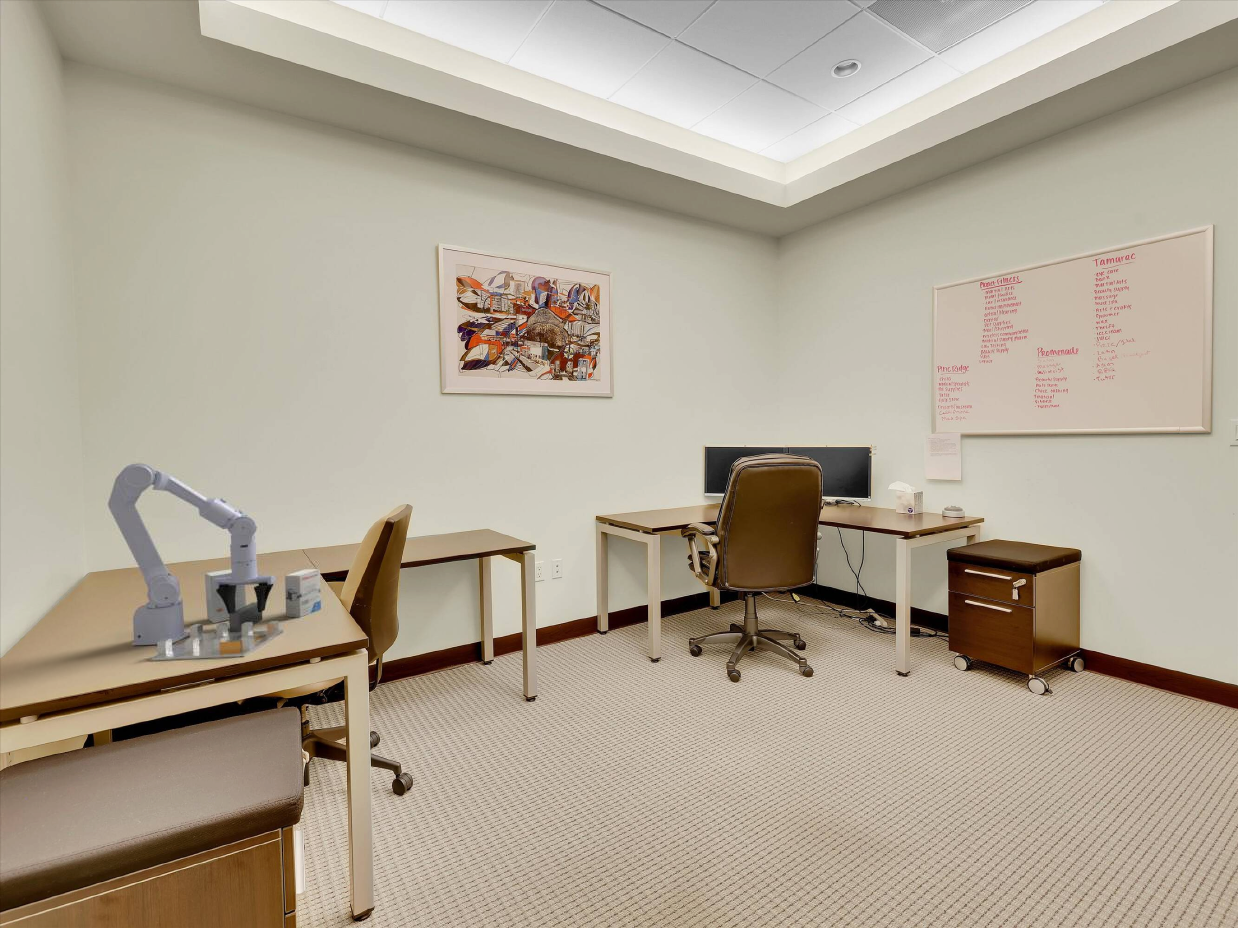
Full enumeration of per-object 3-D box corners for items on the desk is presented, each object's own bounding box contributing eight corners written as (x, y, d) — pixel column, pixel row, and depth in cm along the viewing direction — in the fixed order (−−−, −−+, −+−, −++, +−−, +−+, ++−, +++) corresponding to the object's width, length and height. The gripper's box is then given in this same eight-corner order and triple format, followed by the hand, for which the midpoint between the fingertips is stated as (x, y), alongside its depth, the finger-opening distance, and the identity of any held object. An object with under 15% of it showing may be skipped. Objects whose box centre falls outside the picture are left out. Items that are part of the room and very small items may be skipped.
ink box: (307, 608, 172) (305, 568, 171) (322, 609, 171) (321, 568, 170) (285, 617, 163) (283, 575, 163) (301, 617, 162) (299, 575, 162)
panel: (230, 633, 150) (229, 613, 150) (253, 620, 161) (252, 602, 161) (240, 632, 150) (239, 613, 150) (262, 620, 161) (261, 602, 161)
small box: (240, 612, 169) (238, 567, 168) (247, 616, 165) (245, 570, 164) (206, 619, 163) (204, 572, 162) (213, 623, 159) (210, 575, 158)
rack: (151, 660, 131) (150, 644, 131) (201, 635, 148) (200, 621, 148) (244, 656, 132) (243, 640, 132) (283, 632, 149) (282, 618, 149)
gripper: (280, 556, 160) (282, 606, 160) (224, 559, 159) (227, 608, 159) (266, 562, 153) (268, 613, 153) (208, 564, 152) (210, 616, 152)
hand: (246, 611), depth 156 cm, fingers open, 7 cm apart
